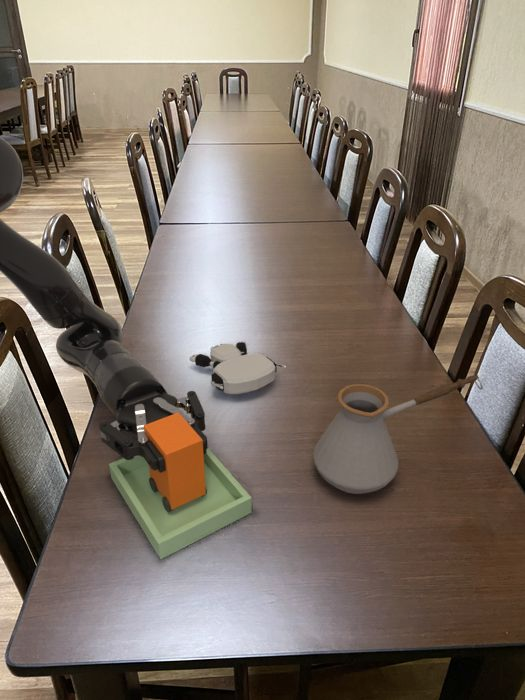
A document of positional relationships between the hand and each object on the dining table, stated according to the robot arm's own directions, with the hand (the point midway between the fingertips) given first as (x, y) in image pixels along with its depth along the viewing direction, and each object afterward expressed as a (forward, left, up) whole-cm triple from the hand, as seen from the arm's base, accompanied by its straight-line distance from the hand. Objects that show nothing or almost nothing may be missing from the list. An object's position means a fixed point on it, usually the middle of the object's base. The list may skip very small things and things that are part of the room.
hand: (183, 457), depth 64 cm
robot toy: (+30, +6, -9) cm, 31 cm away
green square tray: (+2, +2, -9) cm, 9 cm away
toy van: (+1, +2, -8) cm, 8 cm away
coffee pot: (+16, -23, -9) cm, 29 cm away
